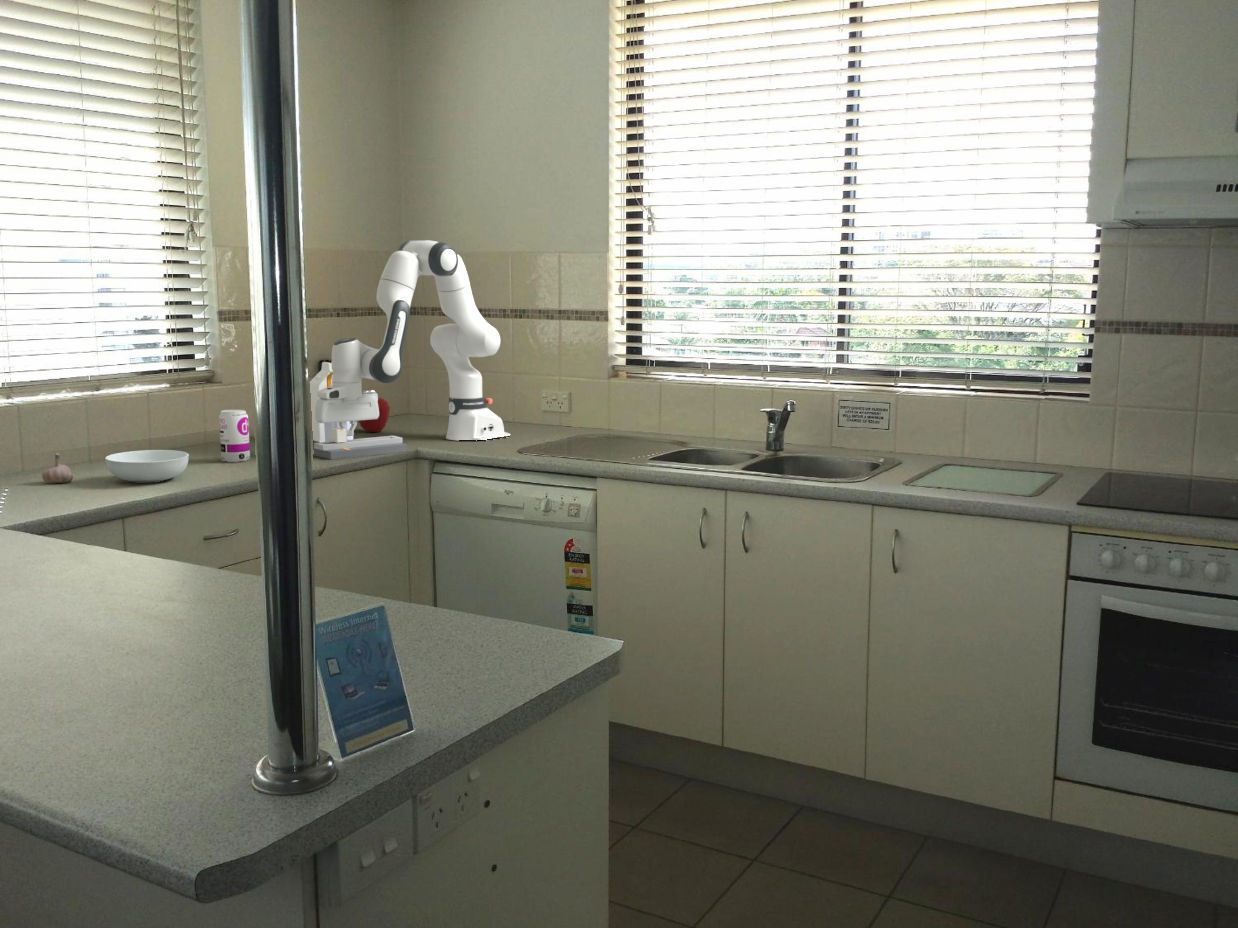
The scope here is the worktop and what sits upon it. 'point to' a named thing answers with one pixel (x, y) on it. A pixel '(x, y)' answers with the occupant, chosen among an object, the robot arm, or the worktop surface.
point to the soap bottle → (335, 424)
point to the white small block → (338, 435)
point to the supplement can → (234, 435)
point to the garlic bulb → (57, 473)
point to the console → (360, 447)
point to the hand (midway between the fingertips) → (348, 435)
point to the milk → (316, 385)
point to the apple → (379, 423)
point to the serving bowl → (147, 465)
